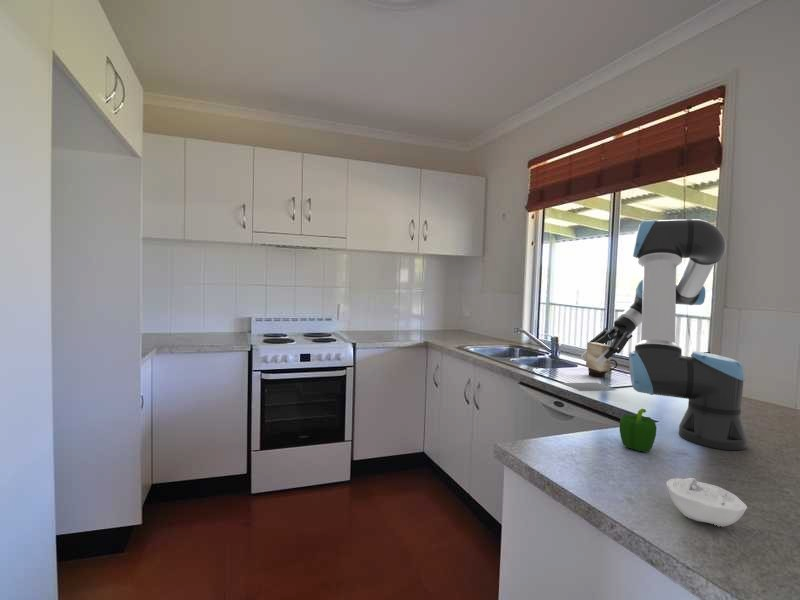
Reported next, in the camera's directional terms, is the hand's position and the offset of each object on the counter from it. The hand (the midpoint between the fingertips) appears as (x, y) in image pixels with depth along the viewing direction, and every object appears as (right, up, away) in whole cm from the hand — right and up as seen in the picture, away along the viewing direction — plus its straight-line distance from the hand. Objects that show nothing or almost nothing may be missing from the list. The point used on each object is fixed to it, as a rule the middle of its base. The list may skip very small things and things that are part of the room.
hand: (590, 360), depth 172 cm
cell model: (-21, -16, -94) cm, 98 cm away
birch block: (+3, -3, +1) cm, 5 cm away
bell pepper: (-15, -14, -62) cm, 65 cm away
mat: (-1, -11, 0) cm, 11 cm away
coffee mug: (+12, -10, +19) cm, 25 cm away
